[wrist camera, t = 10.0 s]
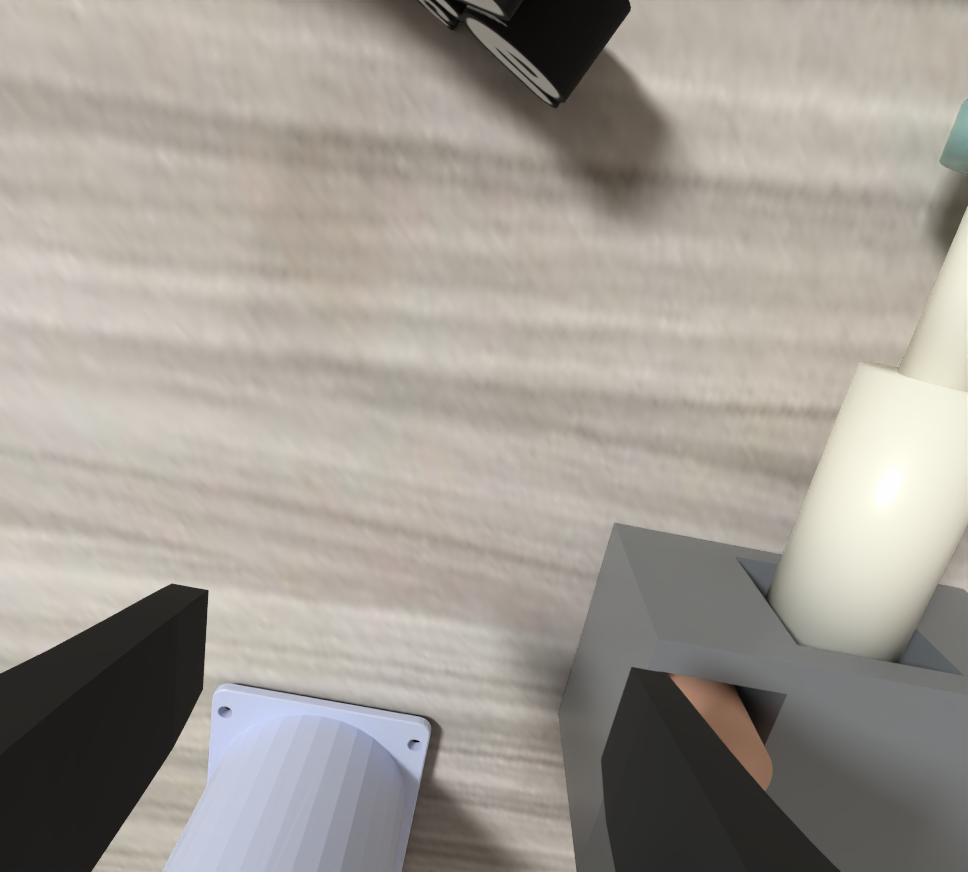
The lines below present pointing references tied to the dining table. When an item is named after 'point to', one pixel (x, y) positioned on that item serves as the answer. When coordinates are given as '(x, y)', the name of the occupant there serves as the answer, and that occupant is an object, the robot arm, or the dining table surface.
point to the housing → (781, 703)
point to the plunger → (729, 723)
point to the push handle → (888, 482)
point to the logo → (539, 36)
